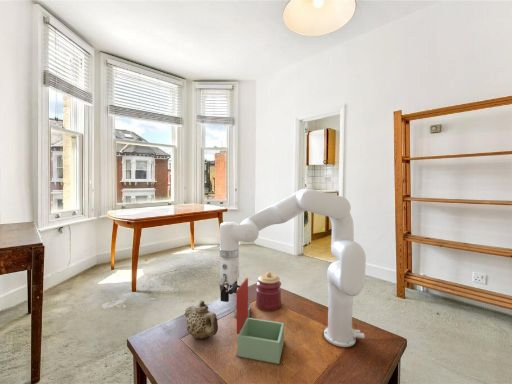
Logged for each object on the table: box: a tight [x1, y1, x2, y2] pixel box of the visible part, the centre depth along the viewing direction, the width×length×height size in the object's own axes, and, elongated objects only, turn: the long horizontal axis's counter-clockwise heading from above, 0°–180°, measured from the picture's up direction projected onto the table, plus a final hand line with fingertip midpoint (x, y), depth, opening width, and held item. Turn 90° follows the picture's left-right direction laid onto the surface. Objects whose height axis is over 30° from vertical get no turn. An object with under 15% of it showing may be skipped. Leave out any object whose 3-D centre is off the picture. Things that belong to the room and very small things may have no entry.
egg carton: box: [234, 300, 251, 318], centre depth 121 cm, size 11×8×4 cm
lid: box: [228, 277, 249, 336], centre depth 97 cm, size 16×13×5 cm
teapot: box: [184, 299, 219, 340], centre depth 102 cm, size 21×12×15 cm, turn 47°
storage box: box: [237, 317, 285, 365], centre depth 95 cm, size 16×13×8 cm
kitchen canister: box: [255, 271, 282, 312], centre depth 128 cm, size 13×13×18 cm
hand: (229, 295), depth 97 cm, fingers open, 9 cm apart
